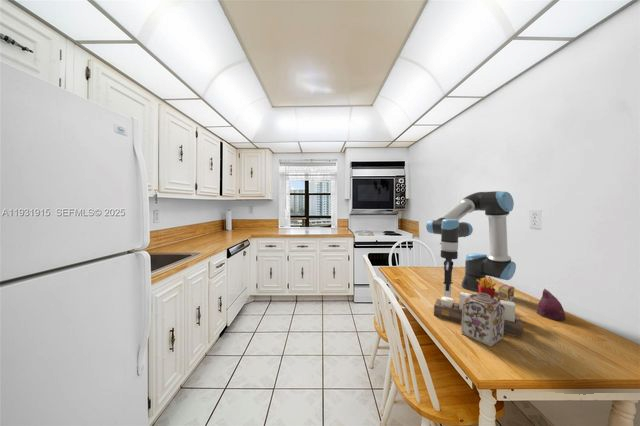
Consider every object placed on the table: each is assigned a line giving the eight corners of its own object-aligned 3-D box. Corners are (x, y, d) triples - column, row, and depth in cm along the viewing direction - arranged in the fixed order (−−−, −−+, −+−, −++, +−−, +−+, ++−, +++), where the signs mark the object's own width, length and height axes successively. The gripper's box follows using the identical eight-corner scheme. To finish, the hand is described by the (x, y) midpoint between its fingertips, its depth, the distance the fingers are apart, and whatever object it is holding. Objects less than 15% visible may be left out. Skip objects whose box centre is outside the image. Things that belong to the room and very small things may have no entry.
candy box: (506, 320, 115) (507, 289, 115) (495, 317, 119) (497, 286, 118) (513, 316, 120) (514, 286, 119) (503, 313, 124) (504, 283, 123)
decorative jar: (460, 333, 103) (462, 292, 102) (473, 326, 109) (475, 287, 109) (492, 347, 93) (494, 302, 92) (504, 339, 99) (506, 296, 99)
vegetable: (538, 322, 121) (529, 293, 122) (538, 313, 129) (530, 285, 129) (567, 324, 114) (558, 293, 115) (565, 314, 122) (557, 285, 122)
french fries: (494, 307, 131) (496, 280, 130) (477, 304, 133) (478, 278, 133) (489, 301, 139) (490, 275, 138) (472, 299, 142) (474, 273, 141)
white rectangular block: (441, 309, 124) (442, 296, 124) (452, 312, 122) (453, 298, 121) (440, 313, 120) (440, 299, 120) (451, 315, 117) (452, 301, 117)
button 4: (499, 314, 111) (500, 299, 111) (513, 317, 108) (514, 302, 108) (500, 318, 107) (501, 303, 106) (514, 322, 104) (515, 306, 104)
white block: (459, 305, 120) (460, 292, 119) (471, 308, 117) (472, 294, 117) (458, 309, 116) (459, 295, 115) (471, 312, 113) (471, 297, 112)
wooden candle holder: (436, 308, 128) (437, 298, 128) (519, 327, 109) (519, 316, 109) (433, 315, 119) (434, 305, 119) (522, 337, 100) (523, 326, 100)
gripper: (442, 247, 127) (440, 290, 128) (438, 251, 116) (437, 299, 117) (458, 248, 123) (457, 294, 124) (456, 253, 112) (454, 302, 113)
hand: (447, 296), depth 121 cm, fingers closed
